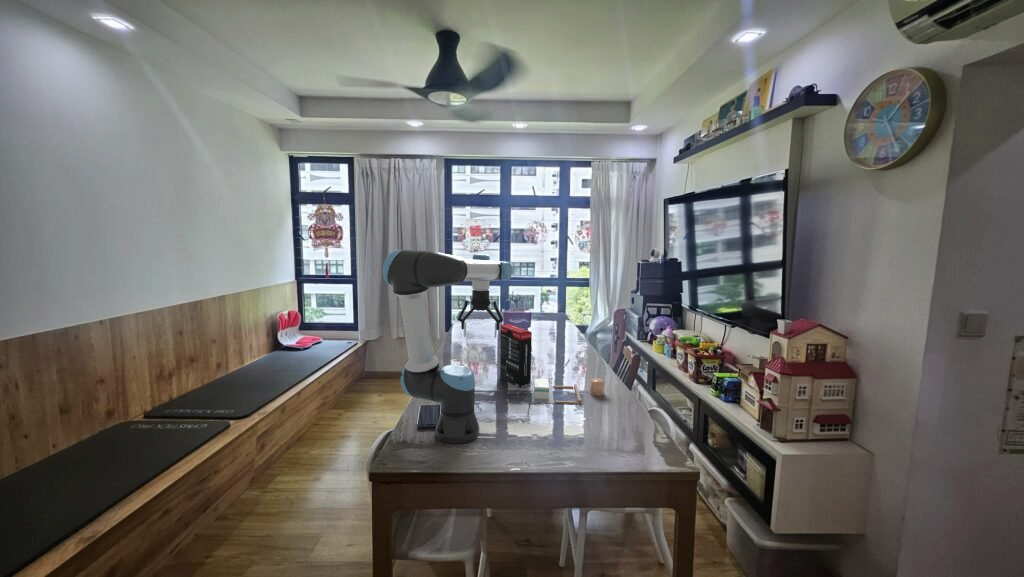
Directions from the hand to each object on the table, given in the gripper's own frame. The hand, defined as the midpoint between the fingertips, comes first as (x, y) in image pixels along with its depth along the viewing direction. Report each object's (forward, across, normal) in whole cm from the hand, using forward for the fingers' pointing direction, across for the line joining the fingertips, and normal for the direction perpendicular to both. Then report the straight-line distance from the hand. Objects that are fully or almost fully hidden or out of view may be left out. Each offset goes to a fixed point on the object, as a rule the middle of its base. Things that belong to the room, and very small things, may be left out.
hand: (480, 336), depth 183 cm
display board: (+24, -33, +9) cm, 42 cm away
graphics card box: (+24, -16, -6) cm, 30 cm away
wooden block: (+24, -53, +3) cm, 58 cm away
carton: (+22, -27, +9) cm, 36 cm away
